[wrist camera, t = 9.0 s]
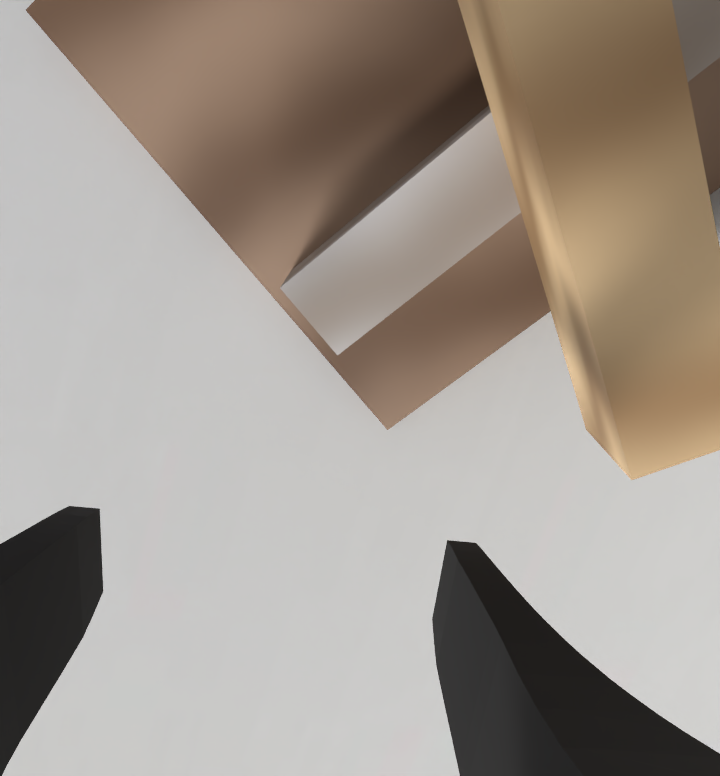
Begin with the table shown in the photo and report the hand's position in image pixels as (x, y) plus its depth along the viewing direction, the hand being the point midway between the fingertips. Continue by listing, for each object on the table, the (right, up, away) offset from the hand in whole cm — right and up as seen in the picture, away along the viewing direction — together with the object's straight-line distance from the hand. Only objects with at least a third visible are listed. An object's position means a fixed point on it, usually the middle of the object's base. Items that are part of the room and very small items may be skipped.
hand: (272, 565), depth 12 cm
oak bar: (+7, +10, +2) cm, 12 cm away
